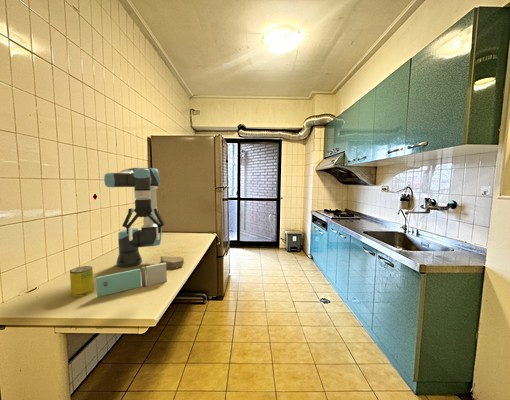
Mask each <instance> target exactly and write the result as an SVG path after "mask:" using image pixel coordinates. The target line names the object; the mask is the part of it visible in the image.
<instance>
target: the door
mask: <svg viewBox="0 0 510 400" xmlns="http://www.w3.org/2000/svg"><path fill="white" fill-rule="evenodd" d="M95 278H96V282H95V283H96V296H97V297H96V298H98V297H102V296H106V295H107V296H108V295H111V294H115V293H119V292H124V291H128V290H131V289H136V288H140V287H142V279H141V268H136V269H131V270H126V271H120V272H116V273H115V272H114V273H111V274H106V275H100V276H97V277H95Z"/></svg>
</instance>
